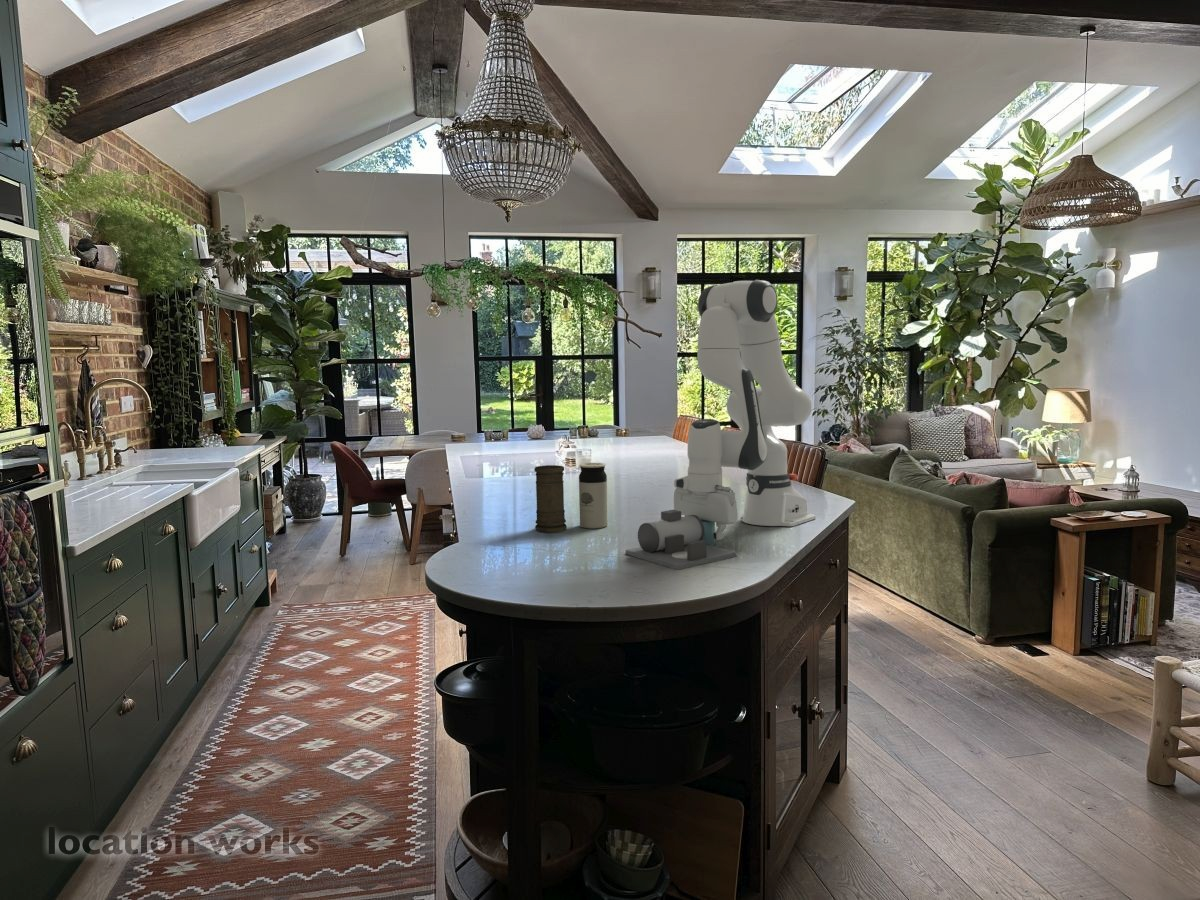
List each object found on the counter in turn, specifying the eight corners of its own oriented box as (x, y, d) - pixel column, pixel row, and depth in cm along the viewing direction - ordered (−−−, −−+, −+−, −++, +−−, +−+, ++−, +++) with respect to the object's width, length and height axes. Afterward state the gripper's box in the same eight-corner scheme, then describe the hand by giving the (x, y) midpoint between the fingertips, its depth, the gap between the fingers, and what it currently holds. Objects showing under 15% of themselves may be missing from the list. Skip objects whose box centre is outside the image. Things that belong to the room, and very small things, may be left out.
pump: (705, 540, 207) (705, 512, 206) (718, 543, 203) (718, 515, 202) (691, 543, 204) (691, 514, 203) (704, 546, 200) (704, 517, 199)
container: (562, 533, 218) (561, 469, 215) (531, 532, 219) (529, 468, 217) (570, 526, 226) (568, 464, 224) (540, 526, 228) (538, 464, 226)
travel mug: (594, 522, 232) (592, 461, 230) (613, 525, 227) (612, 463, 225) (574, 526, 227) (572, 464, 225) (593, 530, 221) (592, 466, 219)
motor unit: (683, 542, 205) (683, 504, 204) (736, 556, 190) (736, 515, 189) (625, 553, 194) (625, 513, 193) (677, 569, 179) (677, 526, 177)
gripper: (743, 486, 195) (743, 541, 197) (687, 477, 211) (687, 528, 213) (725, 489, 191) (725, 545, 193) (669, 480, 208) (669, 531, 209)
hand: (704, 536), depth 203 cm, fingers open, 8 cm apart
